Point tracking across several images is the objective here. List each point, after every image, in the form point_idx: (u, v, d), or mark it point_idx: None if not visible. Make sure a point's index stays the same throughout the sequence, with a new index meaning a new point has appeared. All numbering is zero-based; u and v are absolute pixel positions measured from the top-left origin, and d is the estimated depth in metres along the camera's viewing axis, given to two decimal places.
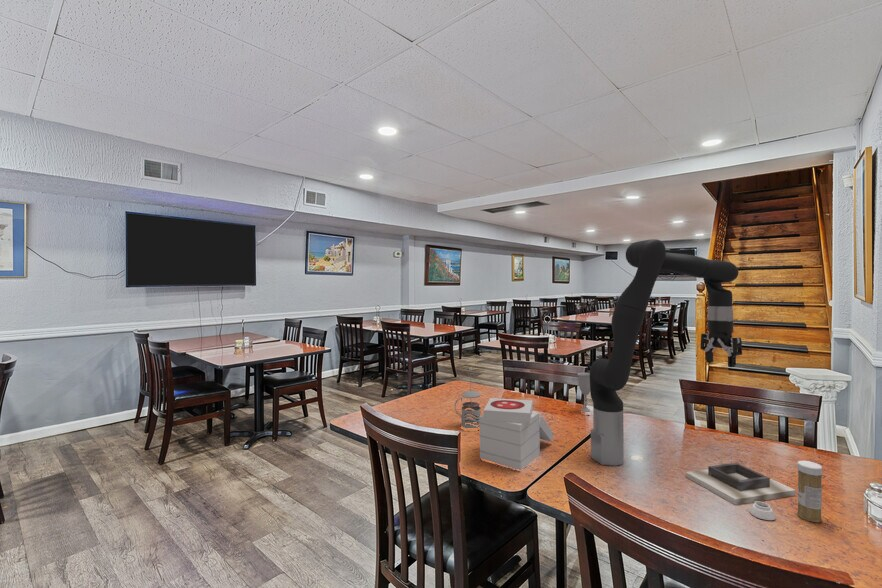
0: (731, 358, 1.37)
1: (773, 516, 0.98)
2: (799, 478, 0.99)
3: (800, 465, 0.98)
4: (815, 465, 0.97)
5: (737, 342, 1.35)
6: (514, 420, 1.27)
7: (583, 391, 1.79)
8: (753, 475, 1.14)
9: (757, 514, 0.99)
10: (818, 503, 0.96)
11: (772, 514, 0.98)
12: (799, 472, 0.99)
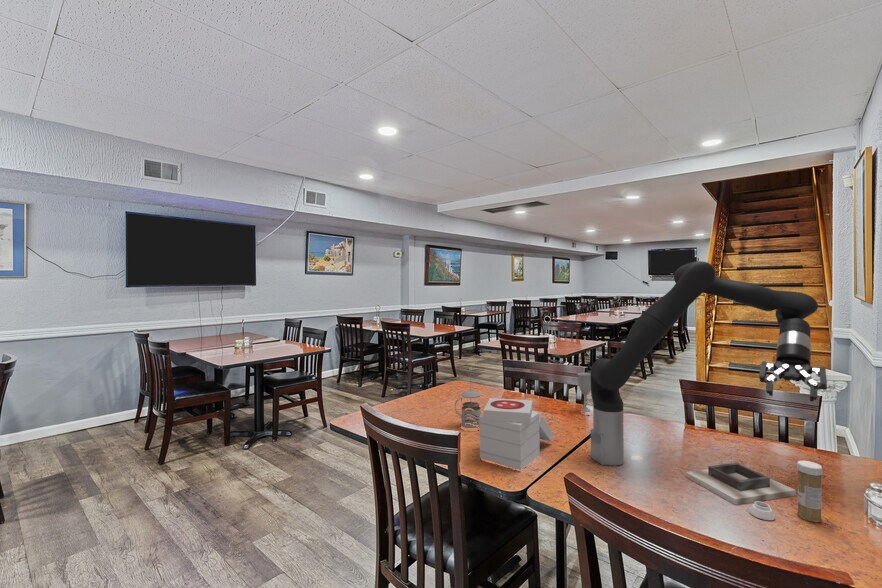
0: (815, 389, 1.08)
1: (773, 516, 0.98)
2: (799, 478, 0.99)
3: (800, 465, 0.98)
4: (815, 465, 0.97)
5: (825, 373, 1.09)
6: (514, 420, 1.27)
7: (583, 391, 1.79)
8: (753, 475, 1.14)
9: (757, 514, 0.99)
10: (818, 503, 0.96)
11: (772, 514, 0.98)
12: (799, 472, 0.99)
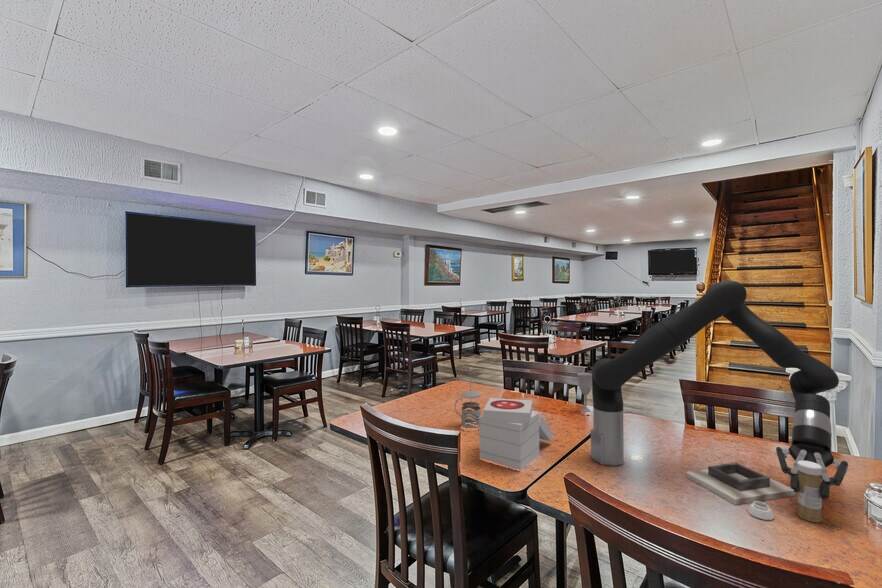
0: (827, 485, 0.96)
1: (771, 516, 0.98)
2: (799, 478, 0.99)
3: (800, 465, 0.98)
4: (815, 465, 0.97)
5: (846, 469, 0.96)
6: (514, 420, 1.27)
7: (583, 391, 1.79)
8: (753, 475, 1.14)
9: (755, 514, 0.99)
10: (817, 503, 0.96)
11: (770, 514, 0.98)
12: (798, 472, 0.99)
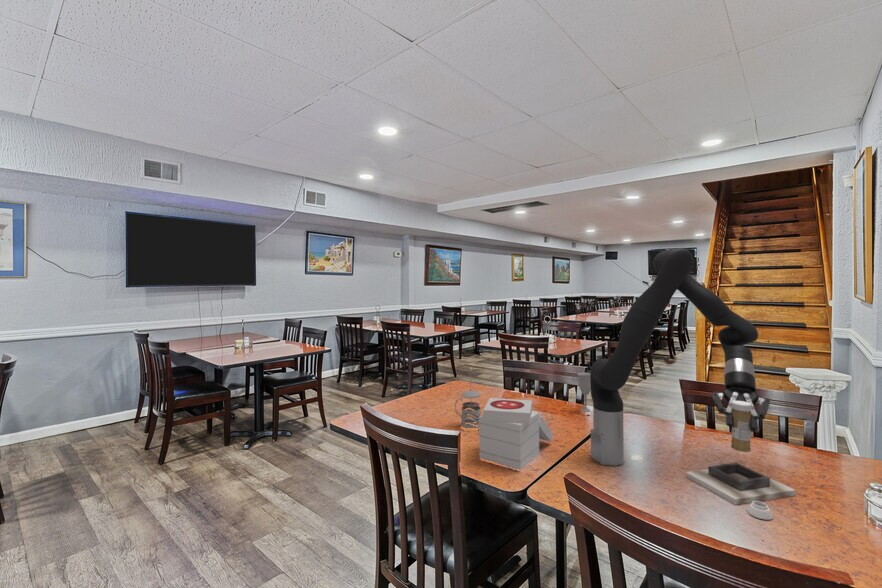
0: (755, 419, 1.11)
1: (770, 515, 0.98)
2: (733, 415, 1.13)
3: (734, 404, 1.13)
4: (746, 403, 1.12)
5: (768, 405, 1.13)
6: (514, 420, 1.27)
7: (583, 391, 1.79)
8: (753, 475, 1.14)
9: (754, 513, 0.99)
10: (748, 436, 1.11)
11: (769, 513, 0.98)
12: (733, 411, 1.14)
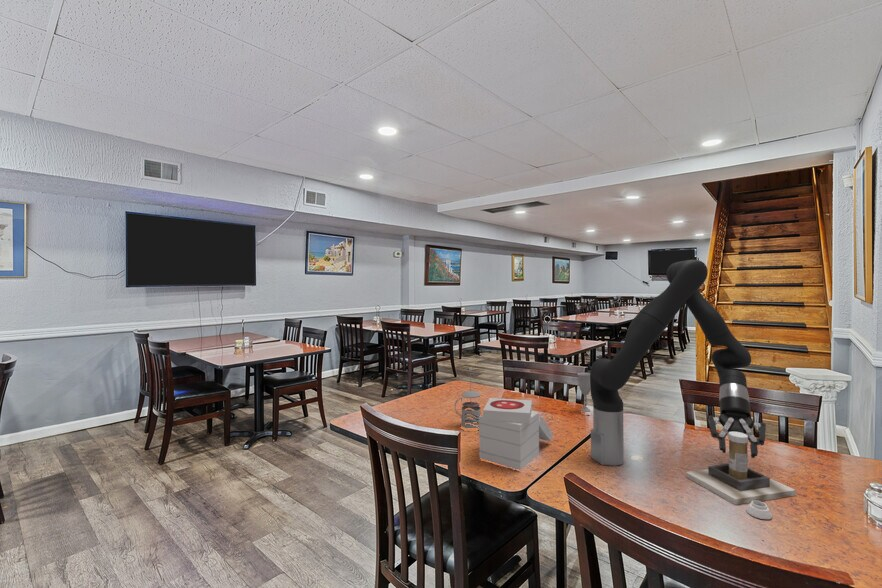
0: (755, 445, 1.12)
1: (770, 515, 0.98)
2: (730, 447, 1.15)
3: (731, 435, 1.14)
4: (742, 434, 1.14)
5: None
6: (514, 420, 1.27)
7: (583, 391, 1.79)
8: (753, 475, 1.14)
9: (754, 513, 0.99)
10: (745, 467, 1.13)
11: (769, 513, 0.98)
12: (730, 442, 1.15)
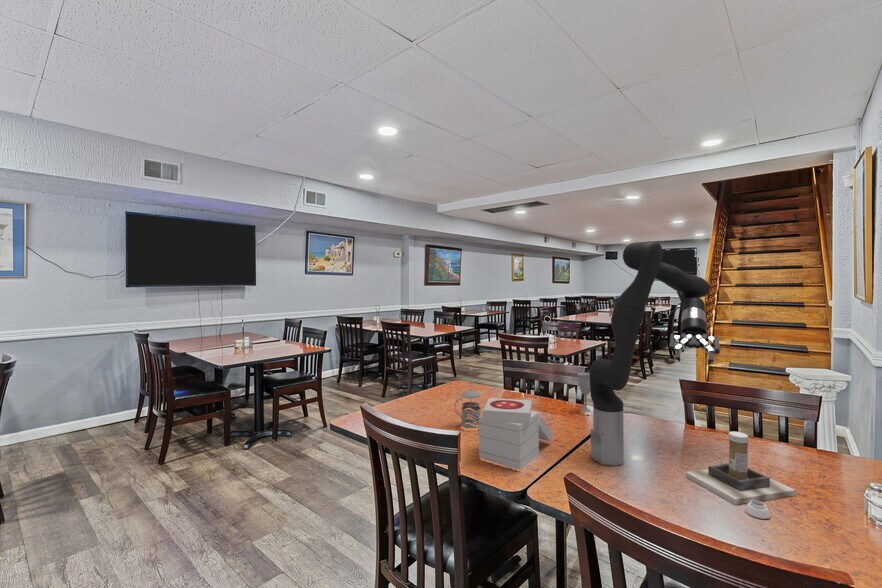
0: (711, 353, 1.30)
1: (768, 515, 0.98)
2: (730, 447, 1.15)
3: (731, 435, 1.14)
4: (742, 434, 1.14)
5: None
6: (514, 420, 1.27)
7: (583, 391, 1.79)
8: (753, 475, 1.14)
9: (752, 513, 0.99)
10: (745, 467, 1.13)
11: (767, 513, 0.99)
12: (730, 442, 1.15)
